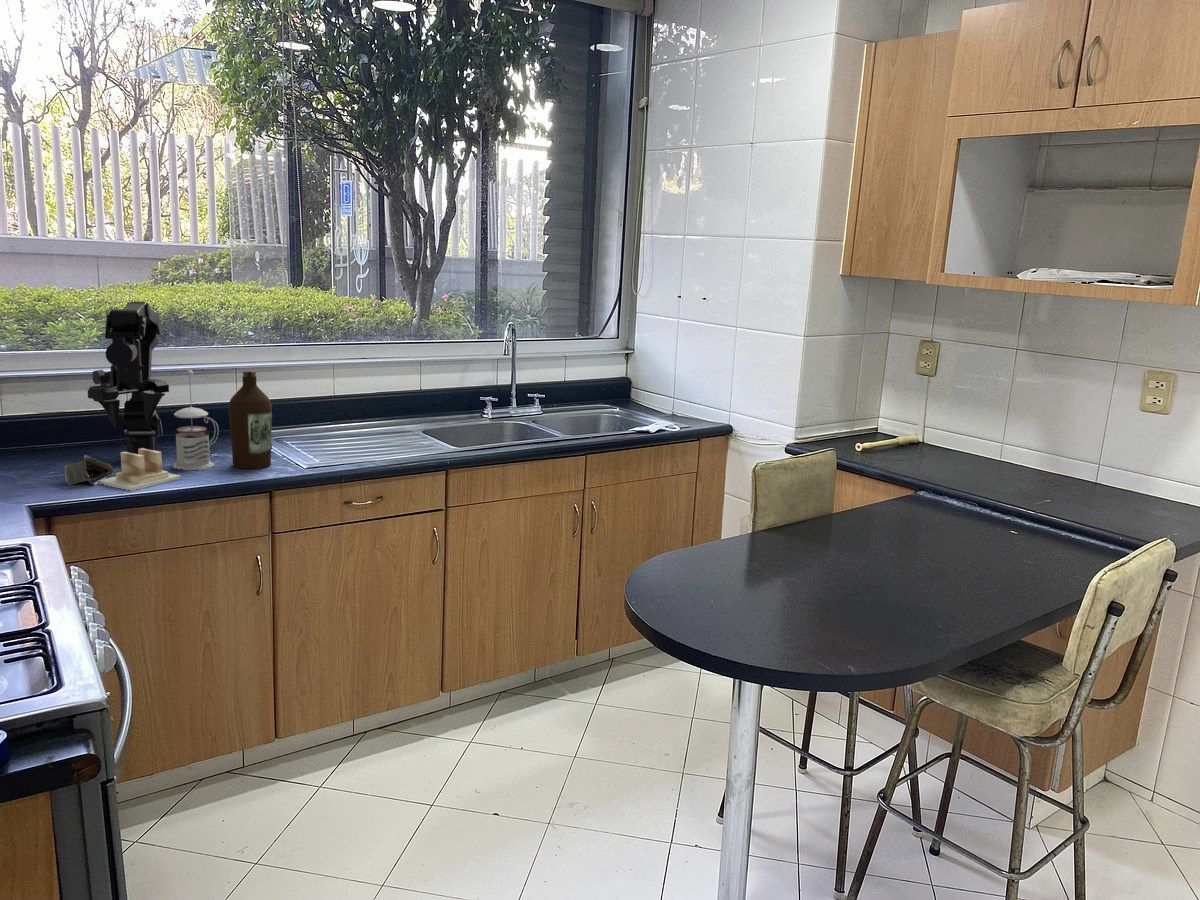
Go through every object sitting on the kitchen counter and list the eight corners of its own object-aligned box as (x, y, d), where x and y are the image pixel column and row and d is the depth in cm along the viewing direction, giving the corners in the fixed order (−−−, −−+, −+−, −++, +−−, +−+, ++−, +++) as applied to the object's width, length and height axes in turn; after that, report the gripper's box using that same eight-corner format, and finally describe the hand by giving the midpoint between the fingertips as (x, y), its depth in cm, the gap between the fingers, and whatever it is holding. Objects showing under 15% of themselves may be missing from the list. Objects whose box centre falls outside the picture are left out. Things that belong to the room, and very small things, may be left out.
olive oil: (221, 464, 235) (218, 370, 230) (256, 458, 244) (254, 367, 238) (247, 472, 229) (244, 375, 224) (281, 465, 238) (279, 371, 233)
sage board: (149, 472, 224) (148, 469, 224) (181, 478, 220) (180, 475, 219) (98, 483, 211) (97, 480, 211) (130, 491, 207) (130, 487, 207)
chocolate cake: (86, 475, 221) (56, 449, 211) (115, 468, 221) (86, 441, 211) (83, 507, 215) (52, 482, 205) (112, 500, 216) (82, 475, 206)
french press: (165, 464, 232) (160, 368, 227) (209, 458, 241) (205, 366, 236) (183, 471, 226) (179, 373, 221) (227, 465, 235) (224, 370, 229)
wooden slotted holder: (168, 477, 217) (167, 451, 216) (139, 484, 210) (138, 457, 208) (145, 472, 220) (143, 447, 219) (116, 479, 213) (114, 452, 212)
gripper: (137, 355, 230) (141, 414, 233) (69, 361, 213) (74, 425, 217) (169, 359, 226) (172, 420, 229) (101, 365, 209) (106, 431, 212)
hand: (131, 423), depth 222 cm, fingers open, 9 cm apart
